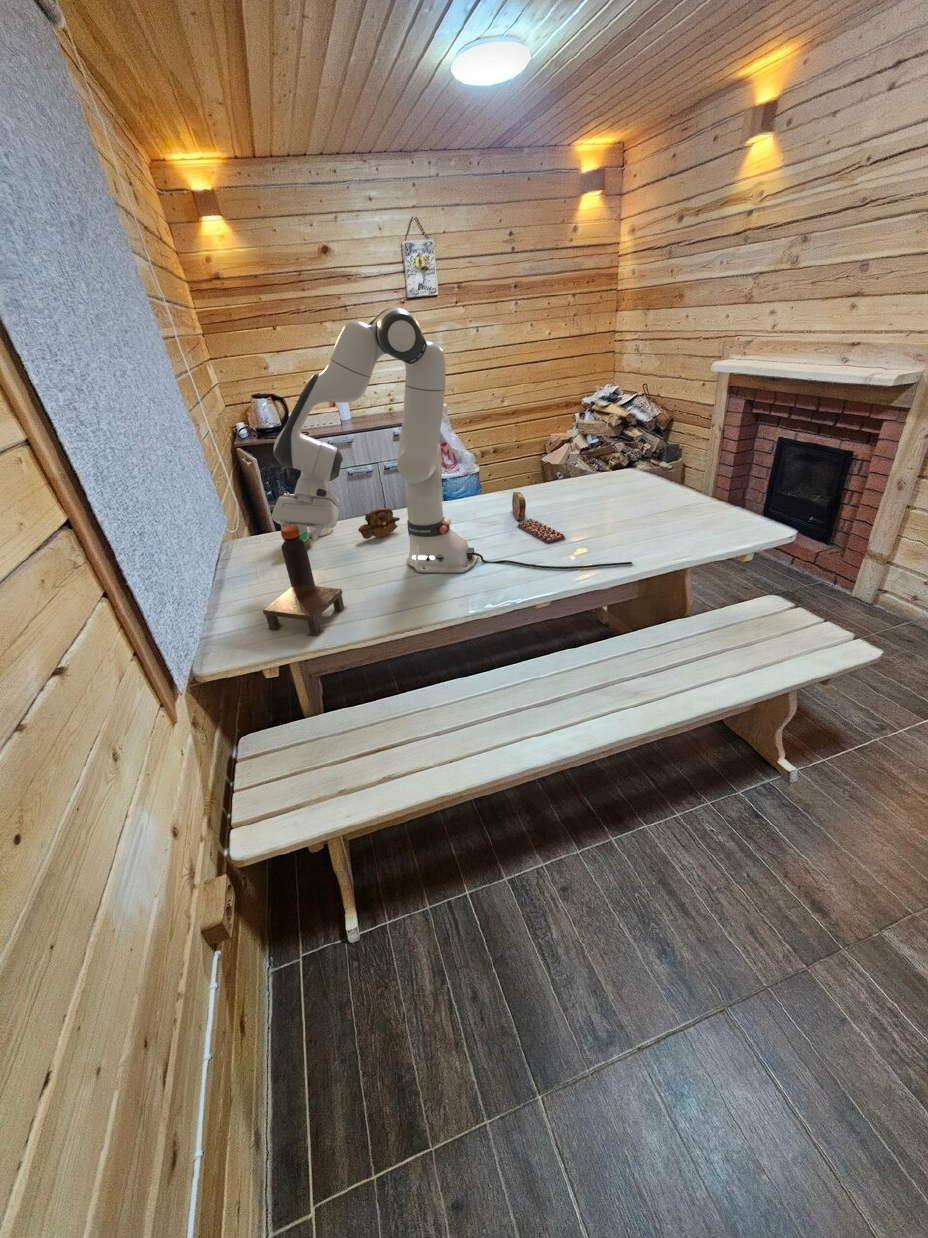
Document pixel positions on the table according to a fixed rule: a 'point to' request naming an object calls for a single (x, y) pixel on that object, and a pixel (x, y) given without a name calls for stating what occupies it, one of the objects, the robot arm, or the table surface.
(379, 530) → the wooden carving
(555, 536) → the chocolate bar
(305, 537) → the food container
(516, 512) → the tin
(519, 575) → the table surface
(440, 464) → the robot arm
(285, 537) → the vinegar
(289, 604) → the stand
